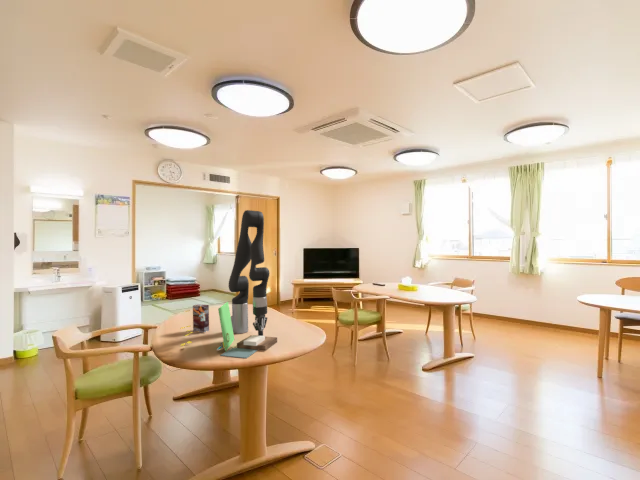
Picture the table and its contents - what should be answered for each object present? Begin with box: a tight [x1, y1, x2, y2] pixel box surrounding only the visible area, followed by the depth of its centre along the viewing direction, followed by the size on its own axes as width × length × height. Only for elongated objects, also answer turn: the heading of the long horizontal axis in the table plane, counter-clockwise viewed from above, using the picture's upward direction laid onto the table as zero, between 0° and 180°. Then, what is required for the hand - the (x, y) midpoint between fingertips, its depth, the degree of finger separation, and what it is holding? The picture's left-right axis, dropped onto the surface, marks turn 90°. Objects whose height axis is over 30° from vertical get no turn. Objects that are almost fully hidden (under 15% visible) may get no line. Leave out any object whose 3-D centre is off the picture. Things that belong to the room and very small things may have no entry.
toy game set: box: [180, 301, 235, 353], centre depth 172 cm, size 22×25×24 cm
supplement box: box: [192, 303, 210, 333], centre depth 201 cm, size 9×5×16 cm, turn 68°
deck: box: [236, 334, 278, 352], centre depth 173 cm, size 16×14×2 cm
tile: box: [244, 334, 266, 346], centre depth 170 cm, size 7×10×2 cm
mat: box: [219, 347, 259, 359], centre depth 161 cm, size 14×11×1 cm
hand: (260, 337), depth 176 cm, fingers closed
